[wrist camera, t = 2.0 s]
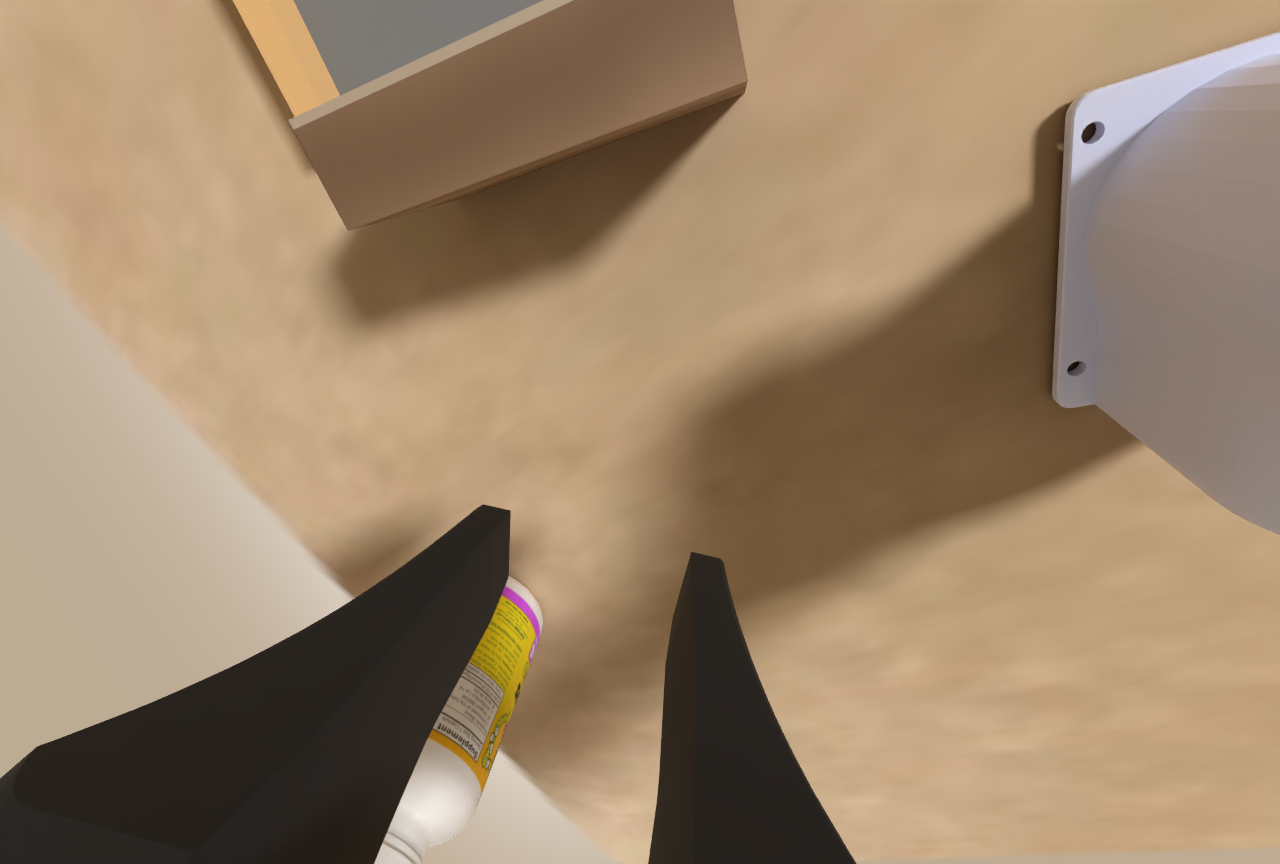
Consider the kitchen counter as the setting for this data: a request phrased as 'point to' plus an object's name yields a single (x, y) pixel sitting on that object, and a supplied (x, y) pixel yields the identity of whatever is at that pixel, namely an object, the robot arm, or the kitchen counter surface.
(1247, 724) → the kitchen counter surface
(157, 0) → the kitchen counter surface
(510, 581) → the supplement bottle
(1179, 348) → the robot arm
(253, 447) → the kitchen counter surface
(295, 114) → the chalkboard
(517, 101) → the slab
